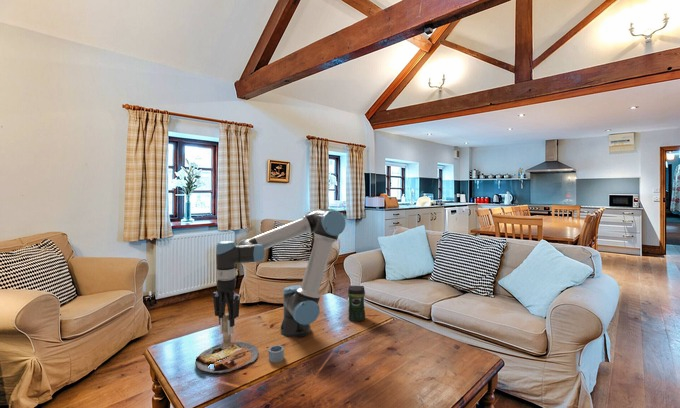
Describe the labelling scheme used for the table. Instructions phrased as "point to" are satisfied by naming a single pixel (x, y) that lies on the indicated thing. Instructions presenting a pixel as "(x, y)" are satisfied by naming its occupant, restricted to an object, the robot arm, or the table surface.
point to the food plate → (223, 357)
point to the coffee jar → (356, 303)
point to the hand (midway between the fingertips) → (226, 333)
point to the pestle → (226, 331)
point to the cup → (276, 353)
